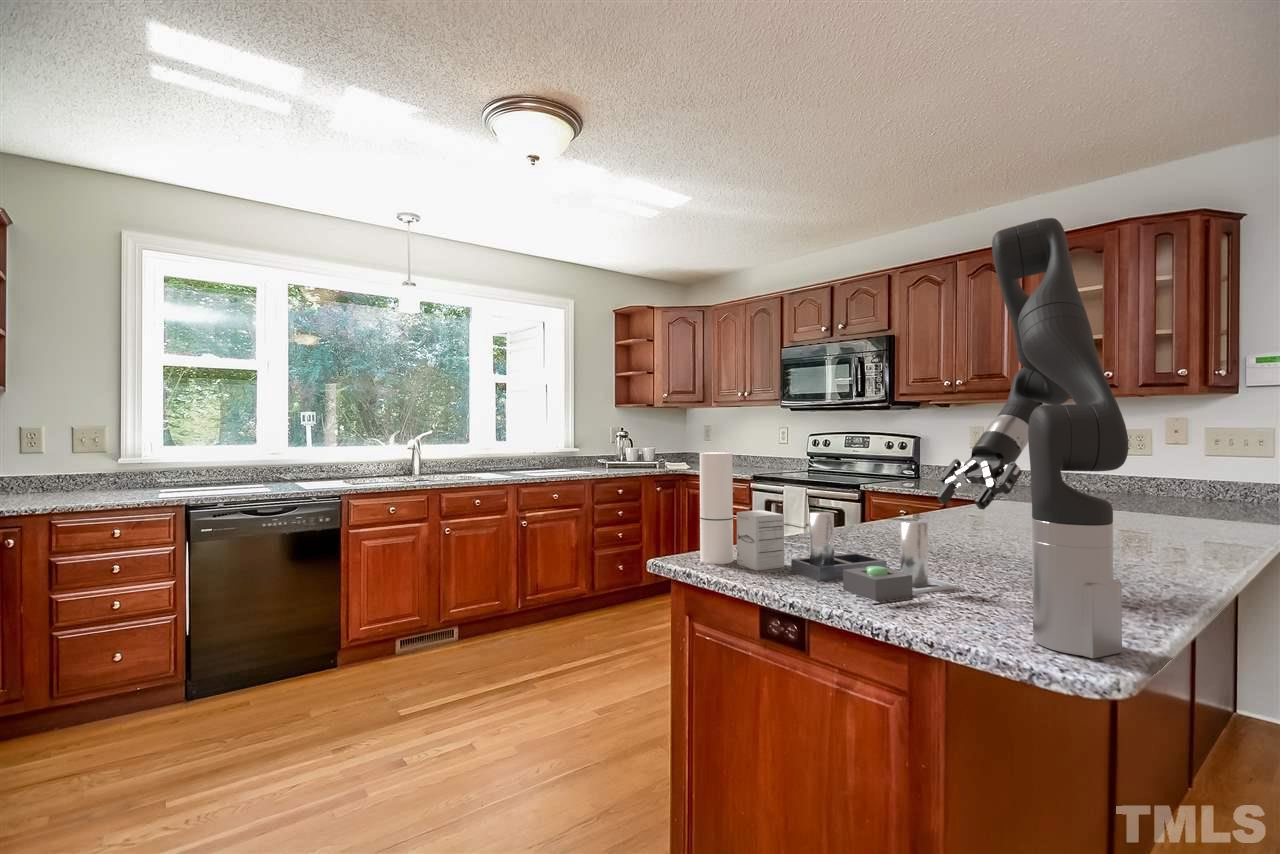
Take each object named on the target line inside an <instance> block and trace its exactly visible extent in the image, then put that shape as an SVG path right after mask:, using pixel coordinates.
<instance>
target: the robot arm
mask: <svg viewBox="0 0 1280 854" xmlns="http://www.w3.org/2000/svg"><path fill="white" fill-rule="evenodd" d="M1064 229H1065V228H1064V227H1063V224H1062V223H1061V222H1060V221H1059V220H1058V219H1057V218H1055V217H1048V218H1047V217H1046V218H1040V219H1036V220H1033V221H1027V222H1025V223H1021V224H1017V225H1014V226H1010V227H1007V228H1003V229H1000V230H998V231H997V232H995V234H994V235H993V237H992V240H991V241H992V242H991V252H992V259H993V264H994V269H995V273H996V276H997V280H998V284H999V287H1000V291H1001V295H1002V298H1003V300H1004V304H1005V307H1006V311H1007V313H1008V316H1009V319H1010V322H1011V327H1012V330H1013V334H1014V341H1015V347H1016V355H1017V360H1018V362H1019V364H1020V365H1021V366H1022V367H1023V368H1021V369H1019V370H1017V372H1016V373H1015V374H1014V377H1013V379H1012V383H1011V386H1010V387H1011V388H1010V391H1009V394H1008V397H1007V400H1006V402H1005V404H1004V406H1003V407H1002V409H1001V410H1000V411H999V413H998V414H997V416H996V417H995V418H994V419H993V421H992V422H990V424H989V425H988V426H987V427H986V428H985V430H984V431H983V433H982V434H981V436H980V437H979V438H978V440H977V441H976V443H975V445H974V446H973V447H972V449H971V455H970V456H971V457H970V458H969V459H968V460H967V461H965V462H963V461H961V460H960V459H958V458H954V459H953V460H952V462H951V463H950V464H949V465H948V467H947V468H946V469H945V470H944V472H943V473H941V475H940V477H939V479H938V480H939V481H940V482H941V483H942V485H943V487H942V488H941V490H940V491H939V492H938V494H937V500H938V501H939V502H940V504H941V505H947V504H948V503H949V501H950V500H951V498H952V497H953V496H954V494H955V493H956V491H957V490H959V489H960V488H962V487H968V486H971V485H972V484H973V485H974V484H975V485H976V484H980V485H986V487H983V488H982V490H981V492H979V494H978V496H976V498H975V500H974V505H976V507H977V508H978V509H979V510H984V511H985V509H986V508H987V507H989V505H990V504H991V503H992V501H993V500H994V498H995V497H997V496H999V495H1000V494H1004V495H1008V494H1010V493H1011V491H1012V489H1013V488H1014V487H1015V484H1016V483H1017V481H1018V480H1019V478H1020V476H1021V475H1022V473H1023V472H1022V470H1021V468H1020V467H1019V466H1018V464H1017V463H1016V461H1017V460H1018V458H1020V456H1021V454H1022V452H1023V451H1024V449H1025V448H1026V447H1027V445H1028V452H1029V453H1028V455H1029V456H1028V457H1029V464H1030V465H1029V466H1030V468H1029V469H1030V485H1031V486H1030V487H1031V489H1030V493H1031V517H1032V518H1031V532H1032V533H1031V535H1032V537H1031V545H1032V546H1031V547H1032V549H1031V550H1032V553H1031V558H1032V560H1031V562H1032V563H1031V564H1032V567H1031V568H1032V570H1031V571H1032V638H1033V641H1034V642H1035V643H1036V644H1038V645H1040V646H1042V647H1044V648H1047V649H1048V650H1049V649H1050V650H1053V651H1057V652H1061V653H1064V654H1069V655H1070V654H1071V655H1076V656H1083V657H1086V658H1090V659H1098V658H1102V657H1106V656H1107V657H1108V656H1112V655H1115V654H1120V653H1123V617H1122V615H1123V609H1122V606H1123V604H1122V602H1123V600H1122V596H1123V595H1122V594H1123V592H1122V582H1121V581H1120V580H1118V579H1114V578H1115V577H1114V509H1113V508H1114V507H1113V506H1112V503H1110V502H1109V501H1107V500H1106V499H1102V498H1101V497H1097V496H1093V495H1090V494H1087V493H1084V492H1081V491H1079V490H1077V489H1075V488H1073V487H1071V486H1069V485H1068V484H1067V483H1066V482H1064V480H1063V477H1062V472H1108V471H1115V470H1117V469H1119V468H1121V467H1122V466H1124V464H1125V463H1126V462H1127V461H1126V460H1127V458H1128V454H1129V436H1128V435H1129V434H1128V431H1127V426H1126V423H1125V420H1124V417H1123V414H1122V411H1121V408H1120V407H1119V405H1118V402H1117V400H1116V397H1115V396H1114V393H1113V391H1112V388H1111V387H1110V386H1111V385H1110V384H1109V382H1108V380H1107V377H1106V375H1105V373H1104V370H1103V367H1102V364H1101V362H1100V359H1099V355H1098V351H1097V347H1096V343H1095V340H1094V335H1093V331H1092V327H1091V323H1090V320H1089V317H1088V315H1087V311H1086V309H1085V306H1084V303H1083V300H1082V297H1081V295H1080V292H1079V291H1080V290H1079V288H1078V286H1077V282H1076V278H1075V275H1074V274H1075V273H1074V270H1073V265H1072V259H1071V254H1070V249H1069V245H1068V240H1067V235H1066V232H1065V230H1064ZM1039 274H1044V276H1043V278H1042V281H1041V282H1040V283H1039V285H1038V286H1037V287H1036V289H1034V291H1033V292H1032V293H1031V295H1030V296H1029V295H1028V294H1027V293H1026V291H1024V289H1023V288H1022V286H1021V284H1020V282H1019V279H1023V278H1025V277H1030V276H1035V275H1039ZM1070 399H1072V400H1073V402H1074V403H1075V404H1065V403H1066V402H1068V401H1069V400H1070ZM1039 403H1041V404H1044V405H1040V404H1039ZM963 475H964V476H965V479H964V478H963ZM999 477H1000V478H999ZM956 481H957V482H956ZM955 482H956V483H955Z"/></svg>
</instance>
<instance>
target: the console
mask: <svg viewBox="0 0 1280 854" xmlns="http://www.w3.org/2000/svg"><path fill="white" fill-rule="evenodd" d="M887 574H888V575H881V576H874V575H871V574H868V573H867V567H865V568H856V569H847V570H843V579H842V587H843V591H845V592H847V593H848V592H849V593H851V594H854V595H857V596H860V597H863V598H866V599H868V600H871V601H874V602H876V603H872V605H874V606H880V605H881V606H882V605H888V604H894V603H903V602H909V601H913V598H910V597H913V595H914V593H913V590H912V588H913V587H912V575H909V574H906V573H902V572H901V571H898V570H894V569H891V568H887ZM908 597H909V598H908ZM901 598H902V599H901ZM903 598H904V599H903ZM893 599H894V600H893ZM895 599H897V600H895ZM888 600H891V601H888ZM879 601H883V602H879Z"/></svg>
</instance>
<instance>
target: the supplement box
mask: <svg viewBox="0 0 1280 854" xmlns="http://www.w3.org/2000/svg"><path fill="white" fill-rule="evenodd" d="M736 565H739V566H741V567H745V568H748V569H750V570H754V571H762V570H763V571H764V570H771V569H777V568H784V567H785V514H784V513H783V514H782V513H778V512H773V511H768V510H763V509H758V510H747V511H737V512H736Z"/></svg>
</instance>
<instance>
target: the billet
mask: <svg viewBox="0 0 1280 854" xmlns="http://www.w3.org/2000/svg"><path fill="white" fill-rule="evenodd" d="M899 526H900V529H899V530H900V531H899V533H900V535H899V536H900V572H902V573H906V574H909V575H912V588H915V589H919V588H927V587H929V581H928V577H929V552H928V551H929V545H928V544H929V543H928V542H929V540H928V539H929V534H928V532H929V531H928V530H929V528H928V527H929V526H928V522H925V521H920V520H902V521H900V523H899Z"/></svg>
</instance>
